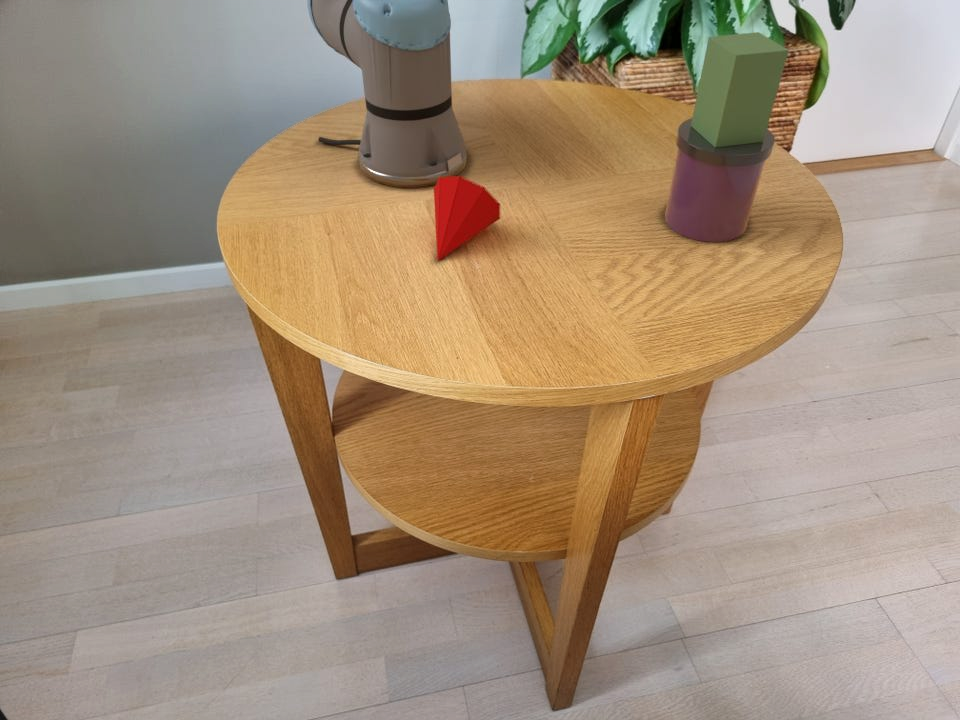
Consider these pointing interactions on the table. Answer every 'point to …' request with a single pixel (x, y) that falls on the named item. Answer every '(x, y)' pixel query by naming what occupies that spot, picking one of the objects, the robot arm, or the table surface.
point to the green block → (738, 88)
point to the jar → (714, 186)
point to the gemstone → (461, 212)
